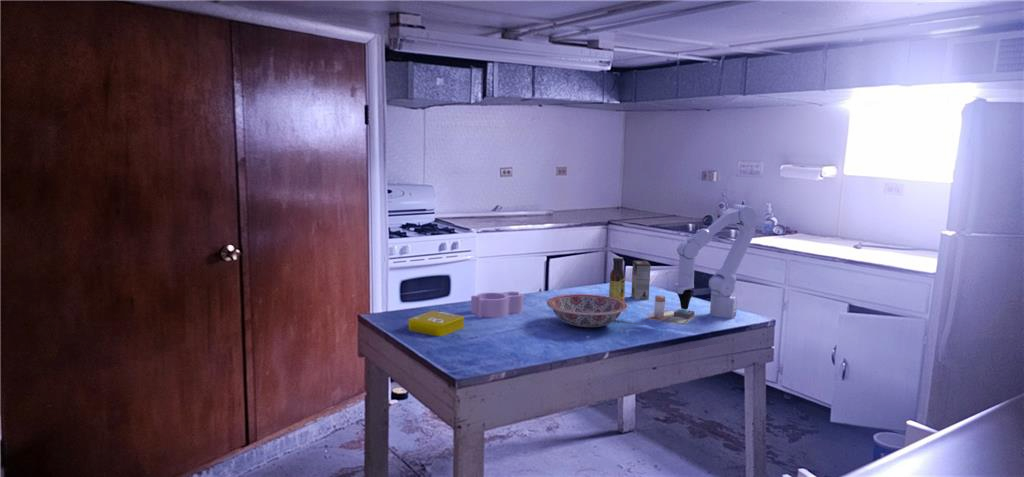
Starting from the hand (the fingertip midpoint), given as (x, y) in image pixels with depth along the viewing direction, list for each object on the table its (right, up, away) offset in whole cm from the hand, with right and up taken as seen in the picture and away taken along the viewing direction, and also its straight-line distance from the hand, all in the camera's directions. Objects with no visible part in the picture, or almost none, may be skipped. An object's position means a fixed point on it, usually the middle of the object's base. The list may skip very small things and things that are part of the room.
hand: (684, 308), depth 251 cm
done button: (0, -4, 0) cm, 4 cm away
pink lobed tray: (-71, -2, +4) cm, 71 cm away
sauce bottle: (-23, -1, +19) cm, 30 cm away
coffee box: (-11, +1, +30) cm, 32 cm away
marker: (-10, -3, -3) cm, 11 cm away
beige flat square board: (-5, -4, -1) cm, 7 cm away
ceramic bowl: (-39, -5, -10) cm, 40 cm away
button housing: (0, -3, 0) cm, 3 cm away
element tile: (-92, -6, -18) cm, 94 cm away
